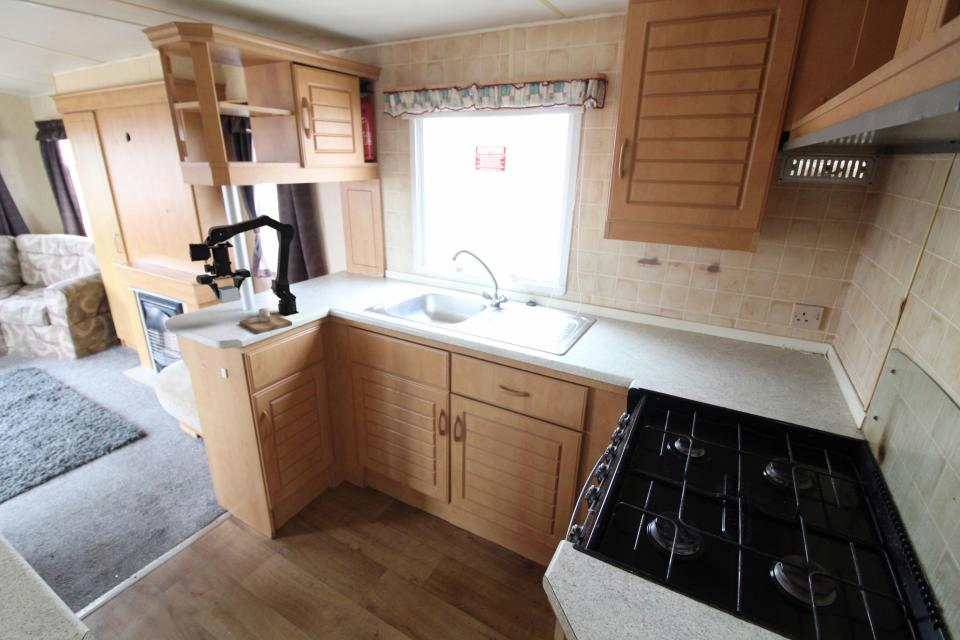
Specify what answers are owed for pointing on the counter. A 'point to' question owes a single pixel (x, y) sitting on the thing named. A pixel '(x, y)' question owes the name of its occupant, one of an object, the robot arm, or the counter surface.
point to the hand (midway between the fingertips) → (227, 297)
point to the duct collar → (228, 294)
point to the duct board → (265, 322)
